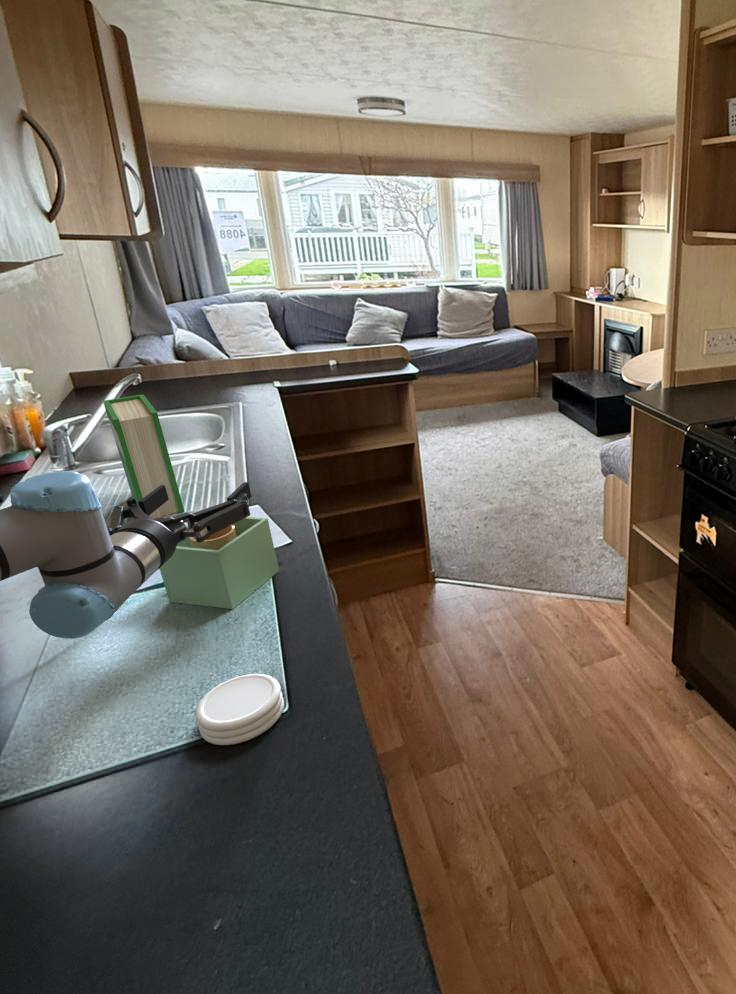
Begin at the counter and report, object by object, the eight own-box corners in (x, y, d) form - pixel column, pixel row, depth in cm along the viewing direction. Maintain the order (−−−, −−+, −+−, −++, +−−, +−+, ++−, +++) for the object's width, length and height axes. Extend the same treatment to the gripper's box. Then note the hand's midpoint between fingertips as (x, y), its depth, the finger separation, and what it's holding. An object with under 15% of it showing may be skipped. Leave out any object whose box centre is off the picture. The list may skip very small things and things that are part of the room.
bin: (169, 601, 112) (152, 545, 107) (220, 564, 123) (207, 512, 119) (233, 609, 109) (218, 552, 105) (279, 571, 121) (267, 518, 117)
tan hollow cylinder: (194, 589, 113) (179, 539, 109) (221, 569, 119) (209, 521, 116) (228, 593, 112) (215, 543, 108) (254, 573, 118) (243, 524, 114)
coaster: (194, 757, 80) (187, 735, 79) (207, 703, 89) (201, 683, 88) (282, 734, 84) (277, 712, 82) (286, 684, 92) (281, 664, 91)
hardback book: (186, 517, 141) (157, 412, 132) (146, 528, 137) (113, 420, 128) (170, 492, 154) (143, 394, 144) (133, 501, 149) (102, 400, 140)
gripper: (48, 580, 92) (135, 513, 111) (232, 572, 93) (285, 507, 113) (31, 533, 89) (123, 473, 108) (220, 526, 91) (277, 467, 110)
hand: (206, 490), depth 111 cm, fingers open, 13 cm apart
